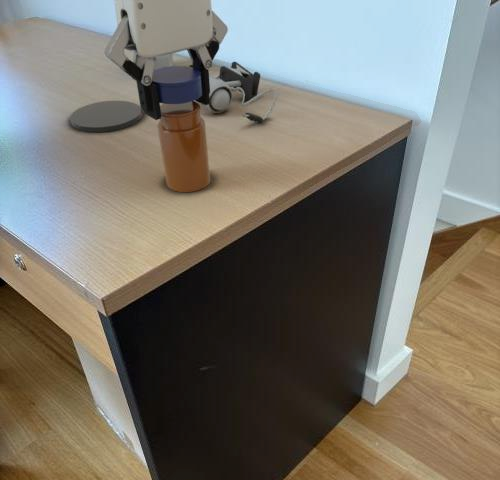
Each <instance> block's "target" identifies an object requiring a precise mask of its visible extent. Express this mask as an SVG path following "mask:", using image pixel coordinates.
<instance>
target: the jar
mask: <svg viewBox="0 0 500 480" xmlns="http://www.w3.org/2000/svg"><path fill="white" fill-rule="evenodd" d="M160 109H161V118H160V119H159V122H157V126H156V127H157V132H158V139H159V145H160V151H161V157H162V163H163V170H164V175H165V176H164V177H165V183H166V186H167V187H168V188H169V189H170V190H172V191H175V192H178V193H191V192H192V193H193V192H197V191H200V190H203V189H204V188H206V187H207V186H209V184H210V183H211V173H210V172H211V171H210V163H209V161H210V160H209V152H208V151H209V150H208V142H207V130H206V122H205V119H204V118H203V117H201V105H200V103H199V102H197V101H195V100H194V101H191V102H187V103H182V104H163V103H161V104H160Z"/></svg>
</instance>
